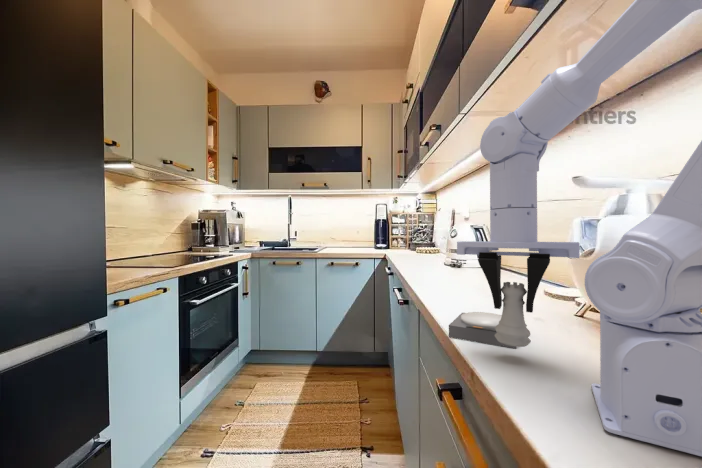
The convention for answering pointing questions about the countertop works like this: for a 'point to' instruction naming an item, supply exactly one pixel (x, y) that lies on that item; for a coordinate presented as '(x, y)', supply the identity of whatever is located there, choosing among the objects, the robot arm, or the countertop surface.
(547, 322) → the countertop surface
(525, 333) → the rook chess piece
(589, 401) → the countertop surface
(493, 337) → the kitchen scale
